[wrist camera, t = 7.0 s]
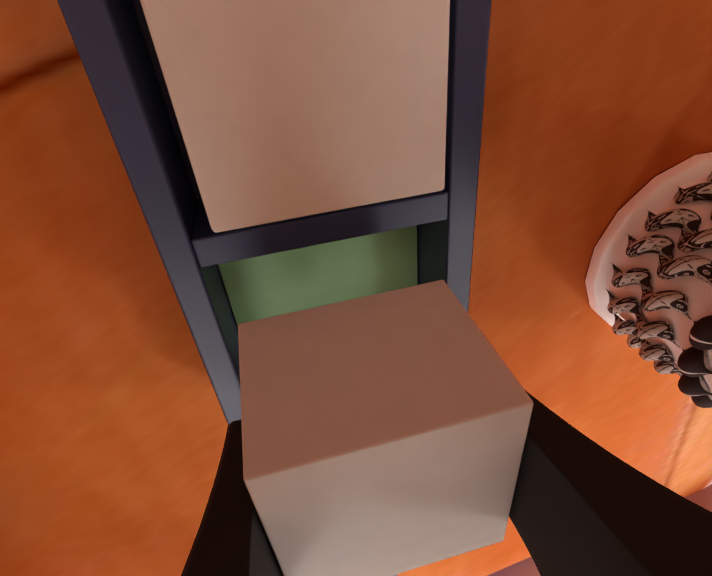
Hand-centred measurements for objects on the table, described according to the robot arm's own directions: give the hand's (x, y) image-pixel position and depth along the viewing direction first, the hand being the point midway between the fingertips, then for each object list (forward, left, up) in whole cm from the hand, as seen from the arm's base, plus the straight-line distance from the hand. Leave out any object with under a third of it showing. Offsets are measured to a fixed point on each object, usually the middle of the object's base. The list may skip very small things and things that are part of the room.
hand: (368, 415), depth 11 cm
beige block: (+5, -5, -6) cm, 9 cm away
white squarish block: (0, 0, -1) cm, 1 cm away
